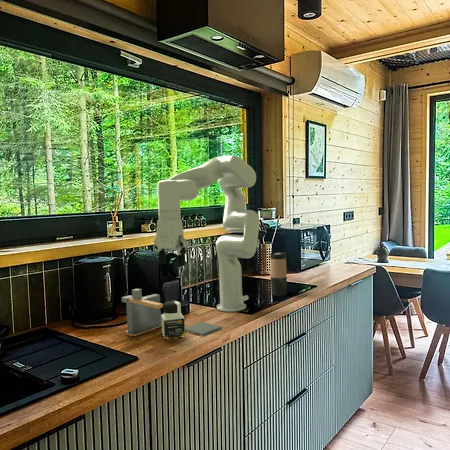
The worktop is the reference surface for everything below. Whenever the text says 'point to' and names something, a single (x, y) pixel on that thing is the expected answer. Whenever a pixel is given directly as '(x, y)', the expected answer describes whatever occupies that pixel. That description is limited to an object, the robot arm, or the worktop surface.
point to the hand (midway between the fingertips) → (171, 264)
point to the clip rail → (143, 316)
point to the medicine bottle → (172, 320)
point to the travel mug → (278, 273)
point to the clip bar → (140, 299)
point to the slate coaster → (202, 328)
